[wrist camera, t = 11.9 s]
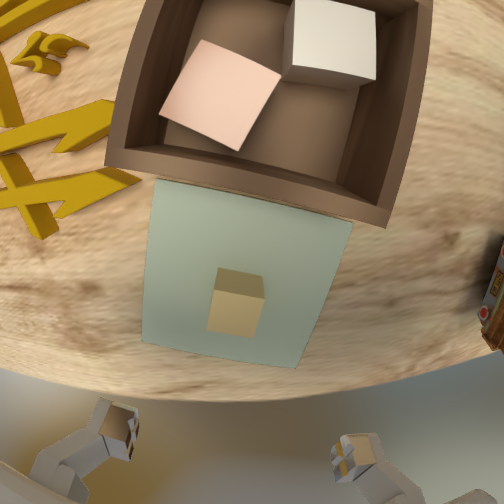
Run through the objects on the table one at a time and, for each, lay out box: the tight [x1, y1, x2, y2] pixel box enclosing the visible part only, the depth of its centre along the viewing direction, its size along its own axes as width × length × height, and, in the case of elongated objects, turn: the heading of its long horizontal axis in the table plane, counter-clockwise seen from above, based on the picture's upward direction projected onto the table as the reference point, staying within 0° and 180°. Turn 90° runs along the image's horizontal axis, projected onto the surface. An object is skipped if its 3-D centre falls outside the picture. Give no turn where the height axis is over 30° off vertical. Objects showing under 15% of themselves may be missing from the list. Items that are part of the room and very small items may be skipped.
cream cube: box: [281, 0, 376, 91], centre depth 12 cm, size 4×4×4 cm
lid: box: [142, 178, 353, 369], centre depth 19 cm, size 13×13×4 cm
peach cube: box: [159, 39, 282, 151], centre depth 13 cm, size 4×4×4 cm
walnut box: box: [104, 0, 433, 229], centre depth 12 cm, size 12×12×7 cm
